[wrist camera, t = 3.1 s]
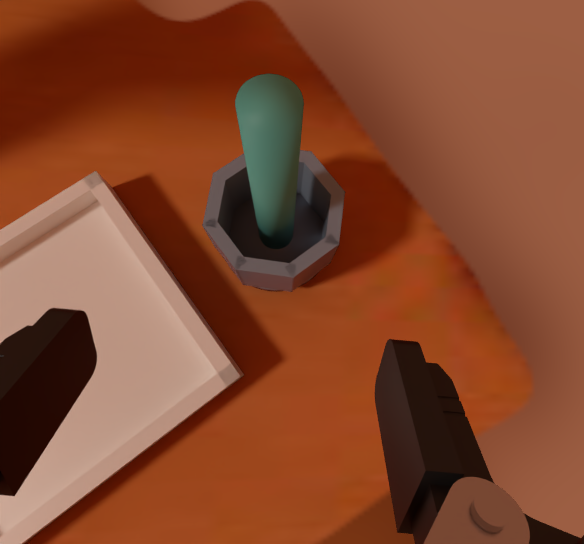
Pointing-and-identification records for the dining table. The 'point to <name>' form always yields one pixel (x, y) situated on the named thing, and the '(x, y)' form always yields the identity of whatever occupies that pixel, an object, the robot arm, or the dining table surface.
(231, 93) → the dining table surface
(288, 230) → the green rounded rod
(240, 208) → the cup
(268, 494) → the dining table surface
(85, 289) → the tray
